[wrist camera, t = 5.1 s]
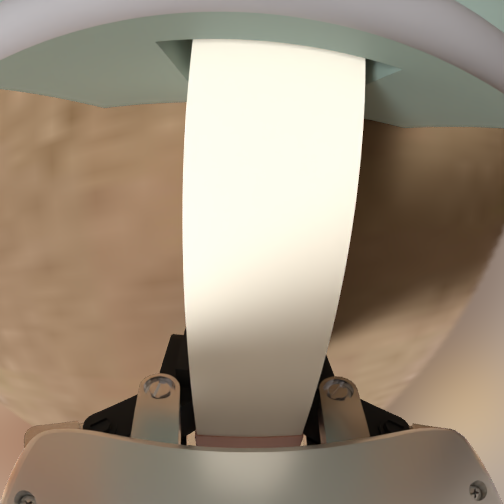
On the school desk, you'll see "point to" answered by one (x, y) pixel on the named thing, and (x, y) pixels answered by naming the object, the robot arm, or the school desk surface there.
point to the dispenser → (263, 29)
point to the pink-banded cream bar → (265, 230)
